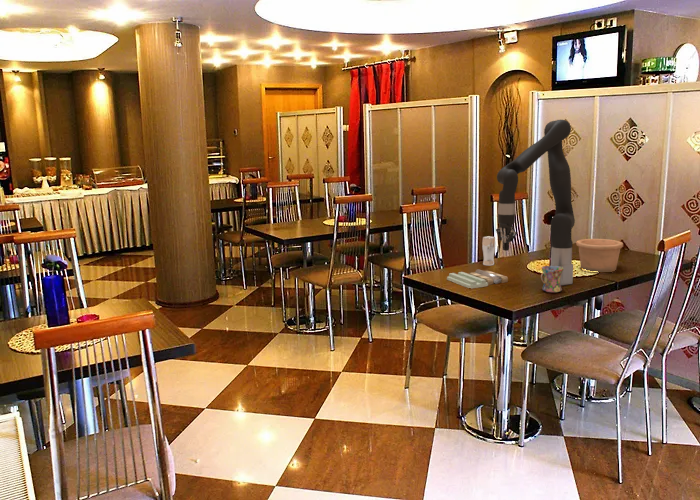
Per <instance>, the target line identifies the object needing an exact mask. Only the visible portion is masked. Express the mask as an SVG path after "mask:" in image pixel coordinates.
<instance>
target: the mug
mask: <svg viewBox="0 0 700 500" xmlns="http://www.w3.org/2000/svg"><path fill="white" fill-rule="evenodd" d="M563 269H564V268H562V267H559V266H551V265H544V266H541V271H542V273H541V274H540V279H541V281H542V283H543V285H542V287H541V290H542V291H544V292H547V293H553V294H555V293H559V292H562V290H563V289H562V285H560V277H561V274H562V271H563Z"/></svg>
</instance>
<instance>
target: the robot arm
mask: <svg viewBox="0 0 700 500" xmlns="http://www.w3.org/2000/svg"><path fill="white" fill-rule="evenodd" d="M543 130H544V131H543V132H544V133H543V134H544V136H543V137H541V138H540V139H539V140H538V141H536V142H535V143H534V144H532V145H530V146H529V147H527V148H526V149H525V150H523V151H522V152H521V153H520V154H519V155H518V156H517V157H516V158H515V159H514V160H512V161H511V162H509V163H508V164H505V166H503V167H502V168H501V169H500V170H499V171H498V172H497V174H496V180H497V182H498V183H499V184H501V185H502V190H500V191H499V194H498V206H497V207H498V208H497V223H498V224H499V226H498V228H496V229H495V232H496V234H497V237H498V240H499V241H501V242H502V250H503V251H506V252H507V251H509V250H510V242H513V241H514V239H515V237H516V236H517V234H518V232H517V231H515V229H514V224H515V223H516V204H515V203H516V195H515V194H516V192H517V187H518V183H519V175H518V174H521V173H525V171H527V170H528V169H529V168H530V167H531V166H532V165H533V164H534V163H535V162H537V161H538V160H539V159H540V158H542V156H543V155H545V154H546V153H547V162H548V175H549V176H548V177H549V185H550V190H551V194H552V197H553V199H554V203H555V204H554V205H555V206H554V207H555V213H554V214H555V215H554V216H553V217H552V219H551V221H550V242H551V243H550V244H551V246H550V248H551V250H550V266H559V267H562V268H564V269H563V271H562V274H561V277H560V286H567V285H573V278H574V263H573V246H574V245H573V240H572V229H573V228H574V227H575V223H576V222H575V221H576V220H575V213H574V208H573V203H572V177H571V168H570V165H569V163H568V160H567V158H566V156H565V154H564V149H563V140H565V139H567V138H568V137H569V136H570V134H571V132H572V131H571V130H572V126H571V124H570V122H569V121H567V120H565V119H556V120H552V121H549V122H548V123H546V125H545V127H544V129H543Z"/></svg>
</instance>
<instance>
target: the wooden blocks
mask: <svg viewBox="0 0 700 500" xmlns="http://www.w3.org/2000/svg"><path fill="white" fill-rule="evenodd" d="M485 271H486V272H489V273H492V274H495V275H498V276H500V277H501V282H500V283H502V284H504V283H508V281H509V278H508V276H506V275H503V274H500V273H497V272H493V271H491V270H485ZM468 274H470V275H473V276H476V277H478V278H481V279H484V280H486V282H487V283H488V286H490V285H494V283H493V279H492V278H489V277H486V276H483V275H480V274H478V273H475V271H474V272H472V271H471V272H469V273H468Z"/></svg>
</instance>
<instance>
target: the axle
mask: <svg viewBox="0 0 700 500" xmlns="http://www.w3.org/2000/svg"><path fill="white" fill-rule="evenodd" d="M486 271H487V270H481V269H479V268H478V269H475V271H474V272H475V273H478V274H480V275H483V276H486V277H489V278H492V279H493V284H495V285H497V284H500V283H502V282H501V277H500V276H498V275H495V274H492V273H489V272H486Z"/></svg>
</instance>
